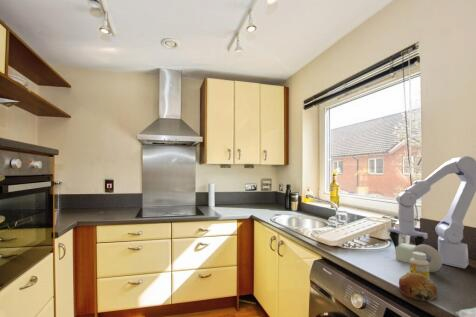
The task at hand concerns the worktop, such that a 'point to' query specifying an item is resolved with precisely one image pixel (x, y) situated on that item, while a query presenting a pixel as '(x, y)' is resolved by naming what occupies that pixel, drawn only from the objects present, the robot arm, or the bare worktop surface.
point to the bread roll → (417, 287)
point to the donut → (434, 255)
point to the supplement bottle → (419, 264)
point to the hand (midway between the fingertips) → (407, 252)
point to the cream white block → (404, 252)
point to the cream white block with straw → (402, 237)
